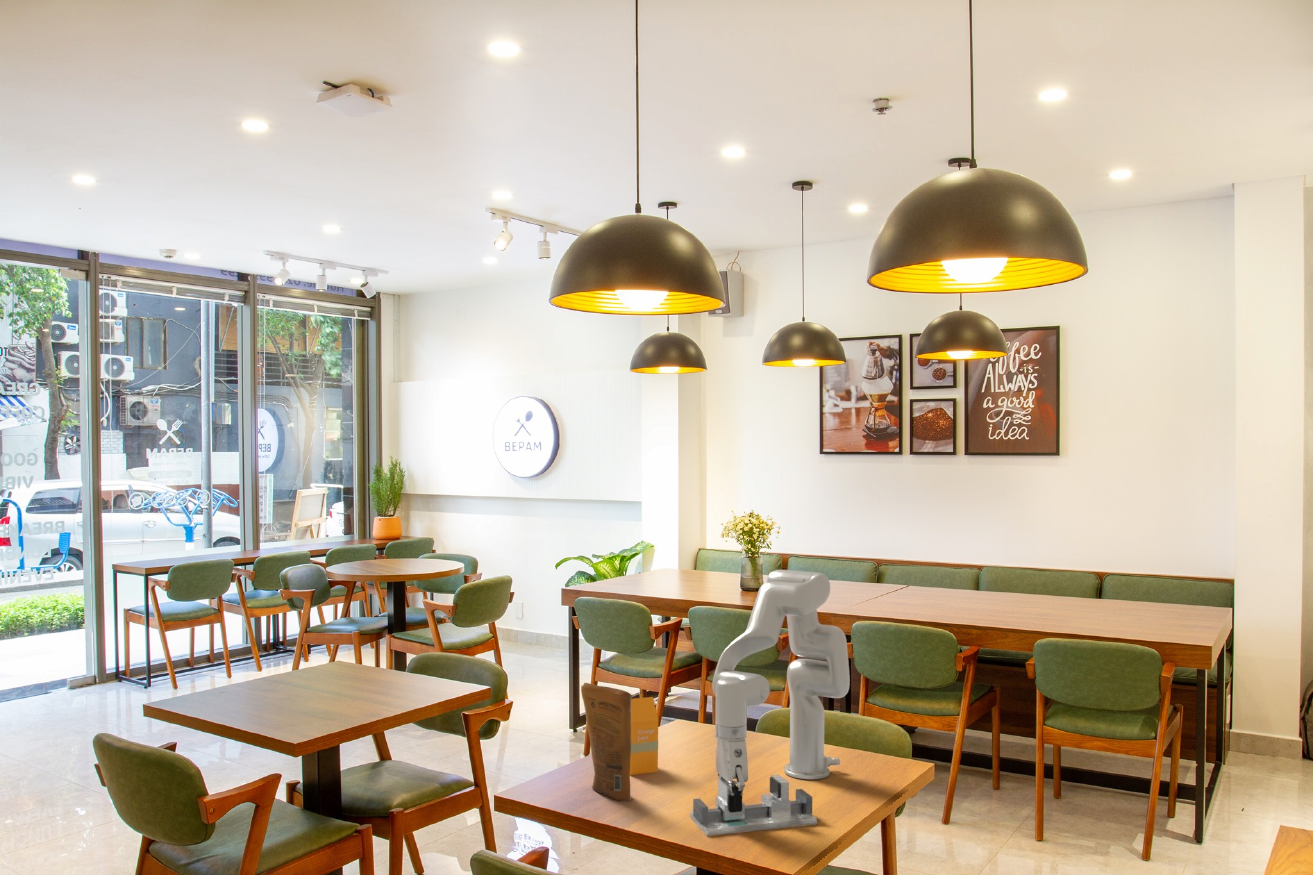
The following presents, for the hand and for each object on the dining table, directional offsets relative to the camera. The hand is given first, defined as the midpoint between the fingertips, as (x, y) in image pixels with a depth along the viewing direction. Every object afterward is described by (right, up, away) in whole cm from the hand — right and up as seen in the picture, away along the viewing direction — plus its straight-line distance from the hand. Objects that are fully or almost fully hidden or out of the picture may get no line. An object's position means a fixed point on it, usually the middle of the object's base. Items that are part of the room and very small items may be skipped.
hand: (730, 805), depth 225 cm
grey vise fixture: (+6, -4, +1) cm, 7 cm away
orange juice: (-23, -6, +40) cm, 46 cm away
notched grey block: (0, -2, 0) cm, 2 cm away
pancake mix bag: (-30, -5, +20) cm, 36 cm away
